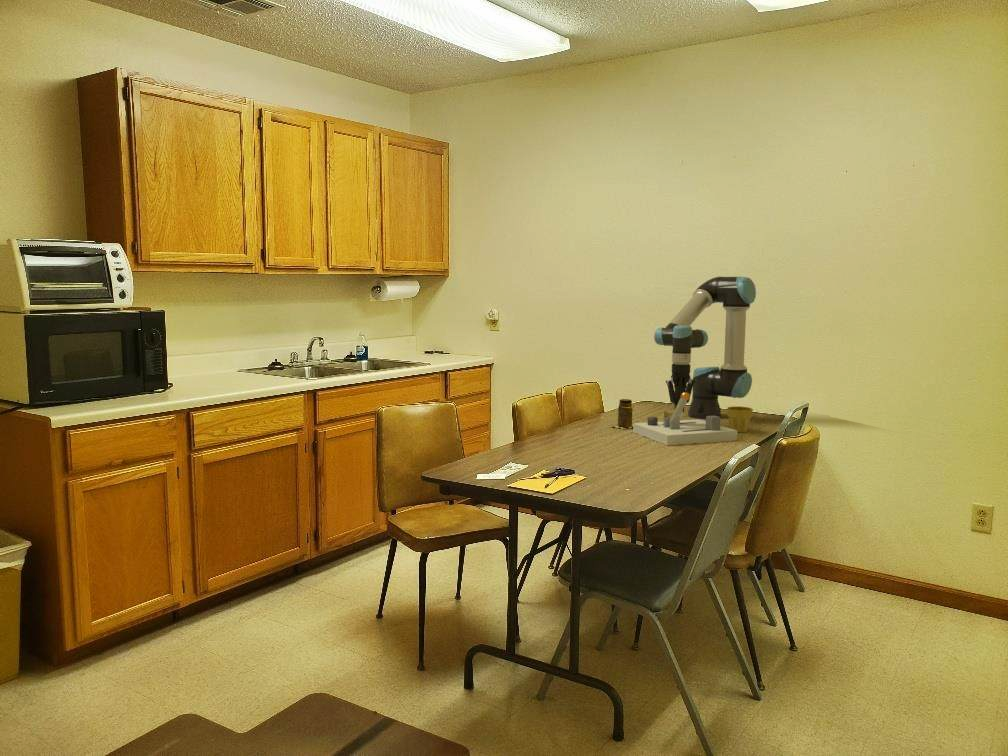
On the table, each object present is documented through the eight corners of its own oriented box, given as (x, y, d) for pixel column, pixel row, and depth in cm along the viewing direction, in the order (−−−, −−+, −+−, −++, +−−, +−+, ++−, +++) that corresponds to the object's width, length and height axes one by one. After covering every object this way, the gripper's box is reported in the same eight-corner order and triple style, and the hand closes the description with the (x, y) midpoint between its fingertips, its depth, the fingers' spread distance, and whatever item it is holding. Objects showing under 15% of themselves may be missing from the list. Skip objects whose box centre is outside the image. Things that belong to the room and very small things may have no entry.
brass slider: (672, 422, 321) (672, 410, 321) (677, 424, 318) (678, 412, 317) (663, 423, 320) (664, 411, 319) (669, 424, 316) (669, 412, 316)
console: (698, 428, 331) (699, 411, 330) (736, 440, 307) (737, 421, 306) (633, 432, 320) (633, 415, 319) (667, 445, 296) (667, 426, 295)
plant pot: (726, 432, 322) (727, 409, 321) (725, 428, 332) (726, 405, 331) (752, 434, 320) (753, 410, 319) (750, 429, 330) (751, 406, 329)
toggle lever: (672, 425, 313) (687, 393, 314) (677, 426, 310) (693, 394, 310) (665, 421, 312) (681, 389, 312) (670, 423, 308) (686, 391, 309)
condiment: (636, 427, 332) (637, 400, 331) (624, 430, 326) (624, 402, 325) (622, 425, 337) (623, 398, 336) (610, 427, 332) (611, 400, 330)
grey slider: (714, 427, 311) (714, 415, 310) (720, 429, 307) (720, 417, 306) (705, 428, 309) (706, 415, 309) (711, 430, 306) (712, 417, 305)
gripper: (672, 364, 311) (670, 422, 314) (700, 363, 316) (697, 420, 319) (662, 362, 318) (660, 419, 321) (689, 362, 323) (687, 417, 326)
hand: (679, 419), depth 320 cm, fingers closed
